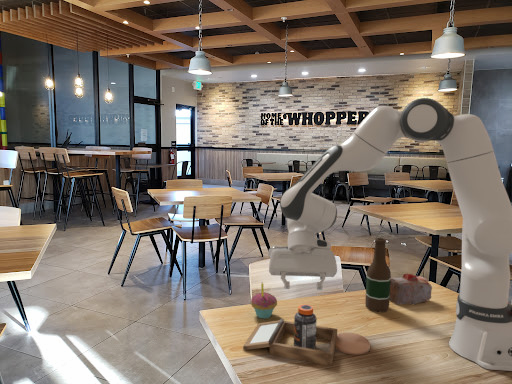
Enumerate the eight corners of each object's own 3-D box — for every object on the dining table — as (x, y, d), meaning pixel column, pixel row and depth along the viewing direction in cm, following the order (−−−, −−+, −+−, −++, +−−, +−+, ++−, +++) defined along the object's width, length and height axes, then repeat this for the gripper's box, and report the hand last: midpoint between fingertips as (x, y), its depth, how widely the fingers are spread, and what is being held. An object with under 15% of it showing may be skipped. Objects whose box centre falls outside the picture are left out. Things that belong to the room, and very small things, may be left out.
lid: (281, 330, 112) (282, 320, 112) (269, 354, 99) (269, 343, 98) (258, 326, 114) (258, 316, 114) (243, 349, 101) (243, 338, 101)
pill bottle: (292, 341, 106) (293, 302, 105) (313, 340, 106) (314, 302, 105) (295, 352, 100) (296, 311, 99) (317, 352, 100) (319, 311, 99)
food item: (417, 295, 141) (419, 269, 140) (432, 303, 133) (434, 276, 132) (385, 298, 137) (386, 272, 136) (399, 307, 130) (400, 279, 129)
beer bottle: (390, 313, 124) (394, 242, 122) (366, 311, 126) (369, 240, 123) (387, 304, 132) (391, 236, 129) (364, 302, 133) (367, 235, 131)
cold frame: (336, 339, 107) (337, 326, 107) (331, 365, 94) (332, 351, 94) (280, 330, 112) (280, 317, 112) (267, 354, 99) (267, 340, 99)
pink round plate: (370, 339, 108) (370, 335, 108) (369, 357, 98) (369, 353, 98) (334, 333, 111) (334, 330, 110) (330, 350, 101) (330, 347, 101)
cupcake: (272, 323, 117) (273, 285, 115) (246, 318, 119) (247, 282, 118) (279, 311, 125) (280, 276, 123) (255, 308, 127) (255, 273, 126)
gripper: (268, 240, 116) (267, 283, 108) (335, 242, 115) (340, 285, 107) (268, 251, 121) (267, 292, 113) (332, 252, 120) (336, 294, 112)
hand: (303, 288), depth 110 cm, fingers open, 8 cm apart
